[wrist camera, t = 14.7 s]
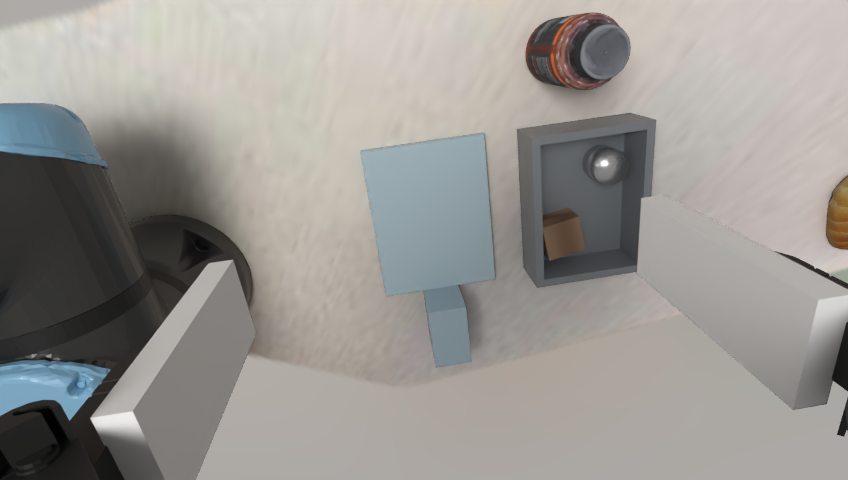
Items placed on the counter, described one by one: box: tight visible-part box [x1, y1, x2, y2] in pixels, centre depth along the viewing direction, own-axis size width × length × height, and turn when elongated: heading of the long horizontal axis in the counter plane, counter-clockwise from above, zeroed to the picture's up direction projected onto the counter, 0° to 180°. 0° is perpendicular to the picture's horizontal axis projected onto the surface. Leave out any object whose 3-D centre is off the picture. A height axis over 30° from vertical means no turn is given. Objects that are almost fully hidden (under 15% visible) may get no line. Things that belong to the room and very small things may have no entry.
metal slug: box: [582, 144, 629, 185], centre depth 49 cm, size 4×4×3 cm
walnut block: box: [542, 208, 585, 261], centre depth 52 cm, size 4×4×3 cm
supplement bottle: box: [526, 13, 631, 90], centre depth 41 cm, size 6×6×11 cm
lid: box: [360, 133, 495, 368], centre depth 50 cm, size 13×24×6 cm, turn 7°
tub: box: [517, 113, 656, 288], centre depth 50 cm, size 12×16×5 cm
